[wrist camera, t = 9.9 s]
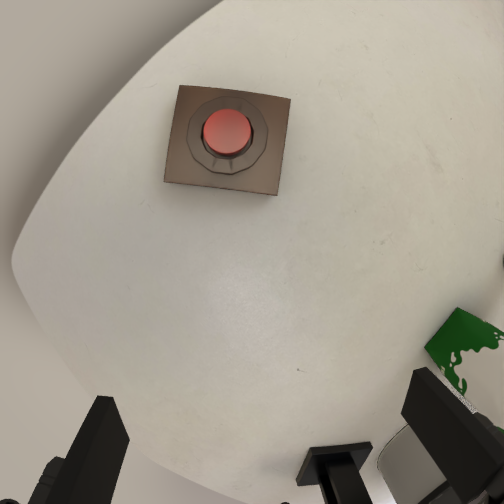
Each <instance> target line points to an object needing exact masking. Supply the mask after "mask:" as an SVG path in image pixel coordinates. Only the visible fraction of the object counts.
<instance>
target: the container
mask: <svg viewBox="0 0 504 504" xmlns="http://www.w3.org/2000/svg"><path fill="white" fill-rule="evenodd" d="M377 467H378V470H379V471H380V473H381V474H382V475H383V477H384V479H385V481H386V483H387V485H388V487H389V489H390V491H391V493H392V495H393V497H394V499H395V501H396V503H397V504H463V503H462V502H461V500H460V499H459V497H458V496H457V494H456V493H455V491H454V490H453V488H452V487H451V485H450V484H449V482H448V481H447V479H446V478H445V476H444V475H443V473H442V472H441V471H440V469H439V468H438V466H437V465H436V463H435V462H434V460H433V459H432V457H431V456H430V455H429V453H428V452H427V450H426V449H425V447H424V446H423V444H422V443H421V442H420V440H419V439H418V437H417V436H416V434H415V433H414V432H413V430H412V429H411V427H410V426H409V424H408V425H407V426H406V427H405V428H404V429H402V430H401V431H400V432H399V433H398V434H397V435H396V436H395V437H394V438H393V439H392V440H391V441H390V442H389V443H388V444H387V446H386V447H385V448H384V450H383V451H382V453H381V454H380V456H379V459H378V462H377Z"/></svg>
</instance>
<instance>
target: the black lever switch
mask: <svg viewBox="0 0 504 504" xmlns="http://www.w3.org/2000/svg"><path fill="white" fill-rule="evenodd" d="M372 449H373V447H372V445H371V443H370V442H364V443H356V444H348V445H338V446H327V447H313V448H310V449H309V452H308V454H307V456H306V459H305V461H304V463H303V465H302V468H301V470H300V472H299V474H298V476H297V478H296V482H297V486H306V485H317V484H319V485H320V488H321V492H322V495H323V498H324V502H325V504H373V503H372V501H371V498H370V496H369V494H368V492H367V489H366V487H365V485H364V482H363V480H362V478H361V476H360V473H359V470H360V469H361V467H362V465H363V464H364V462H365V461H366V459H367V457H368V456H369V454H370V452H371V450H372Z"/></svg>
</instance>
